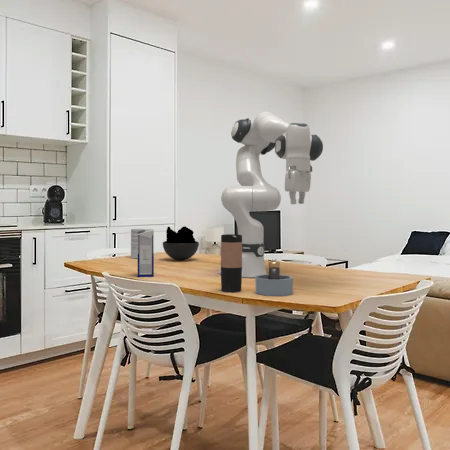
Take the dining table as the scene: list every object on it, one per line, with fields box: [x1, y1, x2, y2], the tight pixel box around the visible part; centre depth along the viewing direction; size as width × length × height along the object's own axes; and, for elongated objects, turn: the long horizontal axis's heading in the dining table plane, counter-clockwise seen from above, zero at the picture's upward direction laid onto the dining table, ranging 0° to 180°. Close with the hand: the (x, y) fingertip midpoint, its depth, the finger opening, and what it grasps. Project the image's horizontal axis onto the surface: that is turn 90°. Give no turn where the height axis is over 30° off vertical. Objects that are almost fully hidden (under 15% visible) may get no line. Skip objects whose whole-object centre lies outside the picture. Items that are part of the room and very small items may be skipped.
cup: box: [254, 274, 294, 297], centre depth 173 cm, size 13×13×6 cm
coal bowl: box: [162, 225, 200, 261], centre depth 272 cm, size 20×20×19 cm
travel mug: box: [220, 233, 243, 293], centre depth 176 cm, size 8×8×20 cm
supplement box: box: [130, 228, 154, 260], centre depth 283 cm, size 10×9×17 cm
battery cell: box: [267, 258, 281, 279], centre depth 173 cm, size 4×4×11 cm
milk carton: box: [137, 229, 155, 278], centre depth 212 cm, size 7×7×20 cm
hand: (297, 204), depth 184 cm, fingers open, 8 cm apart
